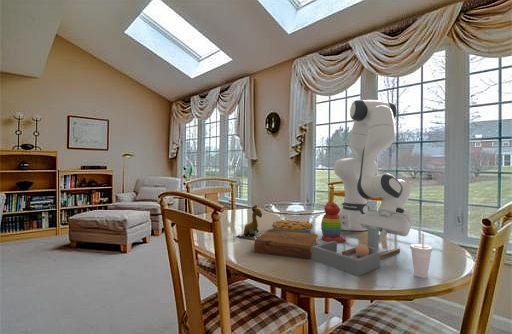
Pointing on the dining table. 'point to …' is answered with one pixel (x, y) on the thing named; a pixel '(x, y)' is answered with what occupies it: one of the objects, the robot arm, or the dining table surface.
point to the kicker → (374, 240)
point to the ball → (362, 250)
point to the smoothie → (421, 258)
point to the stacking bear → (331, 224)
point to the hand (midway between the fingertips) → (376, 239)
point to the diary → (286, 244)
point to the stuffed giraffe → (253, 224)
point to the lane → (382, 255)
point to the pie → (292, 226)
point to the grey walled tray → (344, 259)
